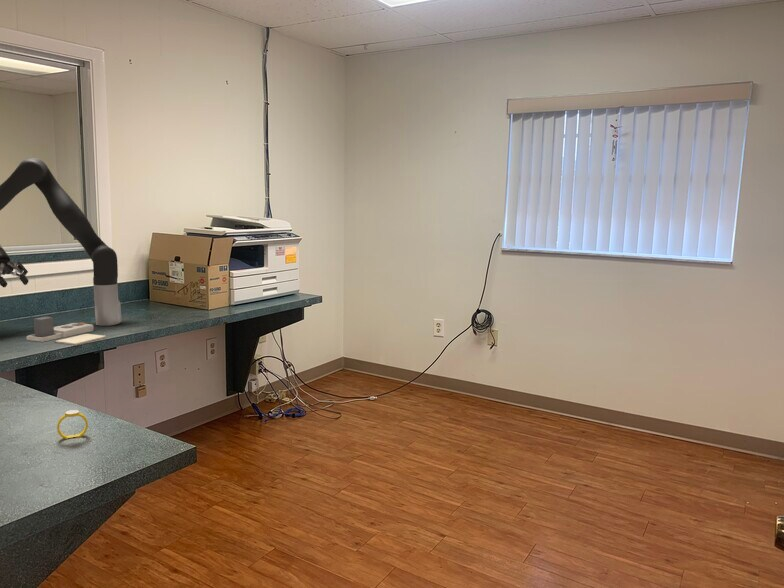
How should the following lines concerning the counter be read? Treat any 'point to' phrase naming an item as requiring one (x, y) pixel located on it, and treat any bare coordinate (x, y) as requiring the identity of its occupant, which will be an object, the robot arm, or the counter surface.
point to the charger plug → (43, 327)
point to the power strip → (64, 331)
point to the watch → (72, 414)
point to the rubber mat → (80, 339)
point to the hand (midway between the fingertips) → (16, 284)
